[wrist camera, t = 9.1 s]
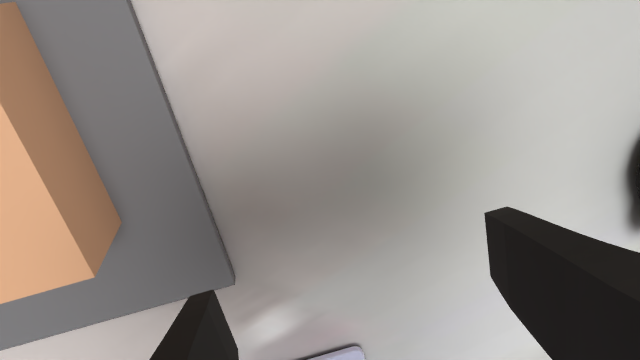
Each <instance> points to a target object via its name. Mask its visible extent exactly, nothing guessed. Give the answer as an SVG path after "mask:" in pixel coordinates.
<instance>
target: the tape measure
mask: <svg viewBox="0 0 640 360" xmlns="http://www.w3.org/2000/svg"><path fill="white" fill-rule="evenodd" d="M636 187H637V188H638V189H639V190H638V194H639V197H640V164H639V165H638V168H637V176H636Z"/></svg>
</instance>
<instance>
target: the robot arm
mask: <svg viewBox="0 0 640 360" xmlns="http://www.w3.org/2000/svg"><path fill="white" fill-rule="evenodd" d="M485 223H486V233H487V244H488V254H489V265H490V275H491V278H492V279H493V281H494V283H495V284H496V286H497V288H498V289H499V291H500V293H501V294H502V296H503V298H504V299H505V301H506V302H507V304H508V305H509V307H510V308H511V310H512V311H513V312H514V314H515V315H516V316H517V317H518V319H519V320H520V321H521V322H522V323H523V325H524V326H525V327H526V328H527V330H528V331H529V332H530V333H531V335H532V336H533V337H534V338H535V339H536V341H537V342H538V343H539V344H540V345H541V347H542V348H543V349H544V350H545V352H546V353H547V354H548V355H549V356H550V358H551V359H552V360H640V253H638V252H635V251H631V250H628V249H625V248H621V247H618V246H615V245H612V244H609V243H606V242H602V241H599V240H597V239H594V238H591V237H588V236H585V235H582V234H579V233H577V232H574V231H571V230H569V229H566V228H563V227H561V226H558V225H555V224H553V223H550V222H548V221H545V220H542V219H540V218H537V217H535V216H532V215H530V214H527V213H524V212H522V211H519V210H516V209H513V208H510V207H504V208H500V209H497V210H493V211H490V212H486V213H485ZM149 360H239V357H238V348H237V345H236V343H235V341H234V338H233V336H232V333H231V331H230V328H229V326H228V323H227V321H226V319H225V316H224V314H223V311H222V309H221V306H220V304H219V301H218V299H217V297H216V294H215V292H214V289H213V290H209V291H206V292H202V293H198V294H195V295H191V296H190V297H189V298H188V300H187V301H186V303H185V305H184V306H183V308H182V309H181V311H180V313H179V314H178V316H177V317H176V319H175V321H174V322H173V324H172V325H171V327H170V329H169V330H168V332H167V334H166V335H165V337H164V338H163V340H162V341H161V343H160V344H159V346H158V347H157V349H156V351H155V352H154V354H153V355H152V357H151V358H150V359H149ZM308 360H365V357H364V353H363V350H362V349H361V348H360V347H357V346H354V347H349V348H346V349H342V350H339V351H335V352H332V353H328V354H325V355H322V356H318V357H315V358H311V359H308Z"/></svg>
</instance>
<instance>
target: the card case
mask: <svg viewBox="0 0 640 360" xmlns="http://www.w3.org/2000/svg"><path fill="white" fill-rule="evenodd" d="M121 223H122V222H121V219H120V217H119V215H118V213H117V211H116V209H115V207H114V205H113V203H112V201H111V199H110V197H109V195H108V193H107V191H106V188H105V186H104V184H103V182H102V180H101V178H100V176H99V174H98V172H97V170H96V168H95V166H94V164H93V162H92V159H91V157H90V155H89V153H88V151H87V149H86V147H85V145H84V143H83V141H82V139H81V137H80V135H79V133H78V131H77V128H76V126H75V124H74V122H73V120H72V118H71V116H70V114H69V112H68V110H67V108H66V106H65V104H64V102H63V99H62V97H61V95H60V93H59V91H58V89H57V87H56V85H55V83H54V81H53V79H52V77H51V75H50V73H49V70H48V68H47V66H46V64H45V62H44V60H43V58H42V56H41V54H40V52H39V50H38V48H37V46H36V44H35V42H34V39H33V37H32V35H31V33H30V31H29V29H28V27H27V25H26V23H25V21H24V19H23V17H22V15H21V13H20V10H19V8H18V6H17V4H16V2H10V3H2V4H0V304H2V303H6V302H9V301H13V300H16V299H20V298H23V297H27V296H30V295H34V294H38V293H41V292H45V291H48V290H52V289H55V288H59V287H62V286H66V285H69V284H73V283H76V282H80V281H83V280H87V279H91V278H94V277H95V276H96V274H97V272H98V270H99V268H100V266H101V264H102V262H103V260H104V258H105V256H106V253H107V251H108V249H109V247H110V245H111V243H112V241H113V239H114V237H115V235H116V233H117V231H118V229H119V227H120V225H121Z"/></svg>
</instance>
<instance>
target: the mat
mask: <svg viewBox="0 0 640 360" xmlns="http://www.w3.org/2000/svg"><path fill="white" fill-rule="evenodd" d="M10 2H16V4H17V6H18V8H19V10H20V13H21V15H22V17H23V19H24V21H25V23H26V25H27V27H28V29H29V31H30V33H31V35H32V37H33V39H34V42H35V44H36V46H37V48H38V50H39V52H40V54H41V56H42V58H43V60H44V62H45V64H46V66H47V68H48V70H49V73H50V75H51V77H52V79H53V81H54V83H55V85H56V87H57V89H58V91H59V93H60V95H61V97H62V99H63V102H64V104H65V106H66V108H67V110H68V112H69V114H70V116H71V118H72V120H73V122H74V124H75V126H76V128H77V131H78V133H79V135H80V137H81V139H82V141H83V143H84V145H85V147H86V149H87V151H88V153H89V155H90V157H91V159H92V162H93V164H94V166H95V168H96V170H97V172H98V174H99V176H100V178H101V180H102V182H103V184H104V186H105V188H106V191H107V193H108V195H109V197H110V199H111V201H112V203H113V205H114V207H115V209H116V211H117V213H118V215H119V217H120V219H121V222H122V223H121V225H120V227H119V229H118V231H117V233H116V235H115V237H114V239H113V241H112V243H111V245H110V247H109V249H108V251H107V253H106V256H105V258H104V260H103V262H102V264H101V266H100V268H99V270H98V272H97V274H96V276H95V277H94V278H91V279H87V280H83V281H80V282H76V283H73V284H69V285H66V286H62V287H59V288H55V289H52V290H48V291H45V292H41V293H38V294H34V295H30V296H27V297H23V298H20V299H16V300H13V301H9V302H6V303H2V304H0V351H1V350H4V349H8V348H11V347H15V346H19V345H22V344H26V343H29V342H33V341H36V340H40V339H43V338H47V337H50V336H54V335H58V334H61V333H65V332H68V331H72V330H75V329H79V328H82V327H86V326H90V325H93V324H97V323H100V322H104V321H107V320H111V319H114V318H118V317H121V316H125V315H129V314H132V313H136V312H139V311H143V310H146V309H150V308H153V307H157V306H160V305H164V304H168V303H171V302H175V301H178V300H182V299H185V298H189V297H190V296H191V295H195V294H198V293H202V292H206V291H209V290H213V289H214V290H217V289H221V288H224V287H228V286H231V285H235V275H234V273H233V270H232V267H231V265H230V262H229V259H228V257H227V254H226V252H225V249H224V246H223V244H222V241H221V238H220V236H219V233H218V230H217V228H216V225H215V223H214V220H213V217H212V215H211V212H210V209H209V207H208V204H207V201H206V199H205V196H204V194H203V191H202V188H201V186H200V183H199V180H198V178H197V175H196V172H195V170H194V167H193V165H192V162H191V159H190V157H189V154H188V151H187V149H186V146H185V143H184V141H183V138H182V136H181V133H180V130H179V128H178V125H177V122H176V120H175V117H174V115H173V112H172V109H171V107H170V104H169V101H168V99H167V96H166V93H165V91H164V88H163V86H162V83H161V80H160V78H159V75H158V72H157V70H156V67H155V64H154V62H153V59H152V57H151V54H150V51H149V49H148V46H147V43H146V41H145V38H144V35H143V33H142V30H141V28H140V25H139V22H138V20H137V17H136V14H135V12H134V9H133V6H132V4H131V1H130V0H0V4H2V3H10Z"/></svg>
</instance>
